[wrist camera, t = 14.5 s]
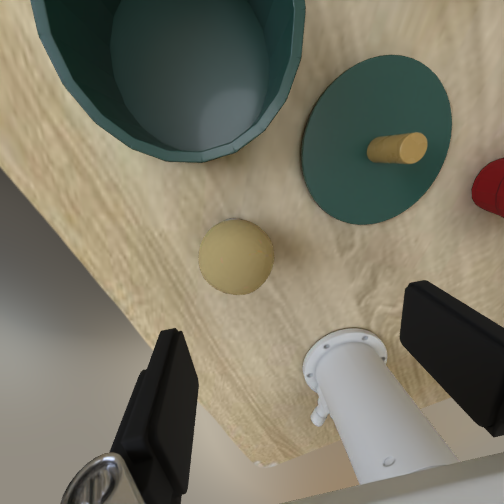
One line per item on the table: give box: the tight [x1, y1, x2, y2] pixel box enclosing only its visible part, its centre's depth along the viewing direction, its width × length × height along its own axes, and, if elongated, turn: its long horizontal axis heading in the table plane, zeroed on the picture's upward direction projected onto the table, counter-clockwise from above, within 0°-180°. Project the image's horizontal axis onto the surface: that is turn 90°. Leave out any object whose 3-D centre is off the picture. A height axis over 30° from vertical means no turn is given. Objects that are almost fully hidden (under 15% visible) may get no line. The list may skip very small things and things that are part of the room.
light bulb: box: [199, 218, 274, 295], centre depth 22 cm, size 6×6×10 cm
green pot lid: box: [301, 55, 452, 225], centre depth 22 cm, size 16×16×6 cm
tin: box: [30, 0, 306, 163], centre depth 17 cm, size 15×15×8 cm
